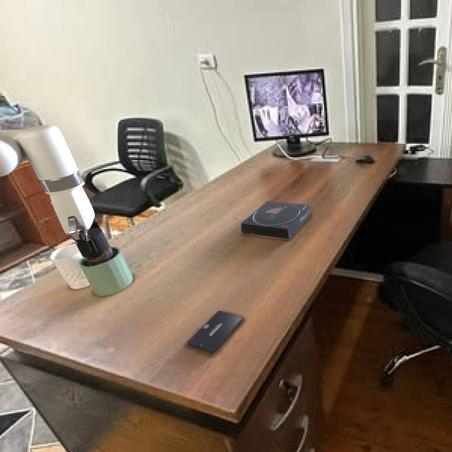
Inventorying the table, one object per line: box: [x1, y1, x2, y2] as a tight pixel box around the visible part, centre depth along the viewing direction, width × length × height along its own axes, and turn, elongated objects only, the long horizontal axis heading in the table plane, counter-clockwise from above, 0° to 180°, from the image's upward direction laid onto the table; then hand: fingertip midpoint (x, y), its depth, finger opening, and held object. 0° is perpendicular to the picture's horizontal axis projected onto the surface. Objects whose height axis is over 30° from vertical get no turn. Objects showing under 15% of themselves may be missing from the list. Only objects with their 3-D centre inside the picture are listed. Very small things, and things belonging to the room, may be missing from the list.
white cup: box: [49, 243, 90, 290], centre depth 94 cm, size 8×8×10 cm
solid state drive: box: [186, 310, 244, 355], centre depth 75 cm, size 7×10×1 cm
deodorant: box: [79, 227, 115, 267], centre depth 90 cm, size 6×6×15 cm
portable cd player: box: [240, 200, 312, 241], centre depth 114 cm, size 16×17×4 cm
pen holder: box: [79, 246, 134, 297], centre depth 92 cm, size 9×9×9 cm
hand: (93, 245), depth 88 cm, fingers open, 9 cm apart
